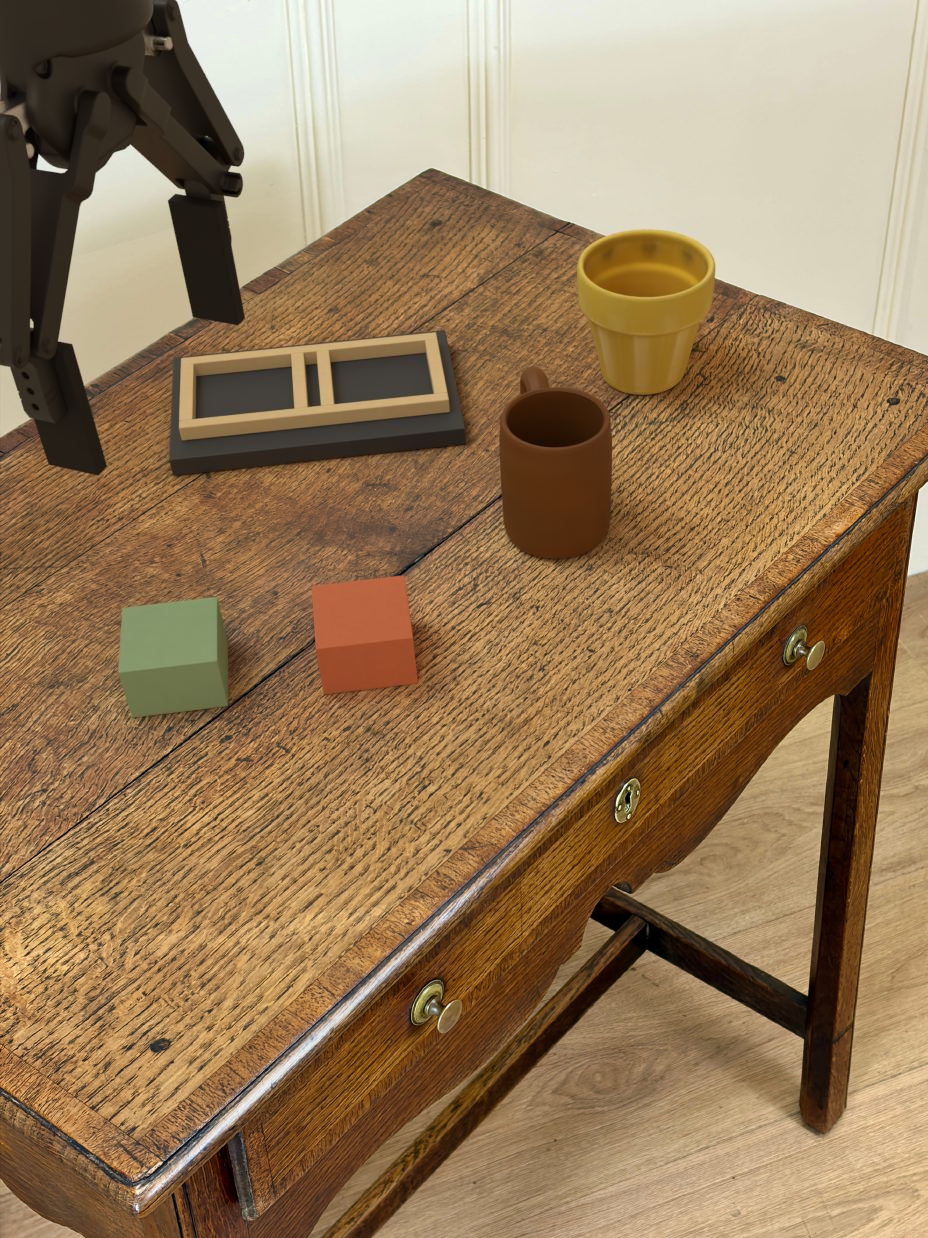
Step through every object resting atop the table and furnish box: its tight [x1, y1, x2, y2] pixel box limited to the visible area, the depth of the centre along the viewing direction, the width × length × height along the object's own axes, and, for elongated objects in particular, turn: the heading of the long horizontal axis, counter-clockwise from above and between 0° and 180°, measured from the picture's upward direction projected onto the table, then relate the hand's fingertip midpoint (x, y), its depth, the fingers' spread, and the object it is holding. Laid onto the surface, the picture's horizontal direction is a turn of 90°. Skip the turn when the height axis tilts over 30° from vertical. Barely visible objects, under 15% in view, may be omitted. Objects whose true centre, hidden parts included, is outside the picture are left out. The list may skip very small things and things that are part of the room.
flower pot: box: [576, 228, 716, 396], centre depth 115 cm, size 10×10×10 cm
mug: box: [498, 365, 613, 560], centre depth 103 cm, size 12×8×9 cm, turn 13°
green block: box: [117, 596, 229, 719], centre depth 93 cm, size 6×6×4 cm
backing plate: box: [168, 329, 467, 477], centre depth 115 cm, size 22×14×3 cm, turn 98°
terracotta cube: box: [311, 574, 419, 695], centre depth 94 cm, size 6×6×4 cm
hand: (152, 388), depth 73 cm, fingers open, 13 cm apart
